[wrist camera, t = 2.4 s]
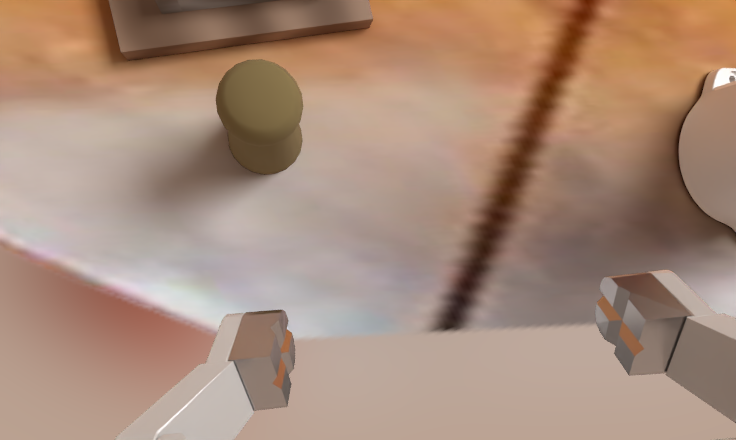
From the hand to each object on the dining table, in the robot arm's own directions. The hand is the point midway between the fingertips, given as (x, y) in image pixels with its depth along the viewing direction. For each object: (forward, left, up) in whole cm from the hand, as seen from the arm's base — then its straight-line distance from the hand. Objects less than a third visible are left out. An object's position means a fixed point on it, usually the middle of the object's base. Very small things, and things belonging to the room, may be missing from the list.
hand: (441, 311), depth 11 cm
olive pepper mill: (+3, -11, -26) cm, 28 cm away
